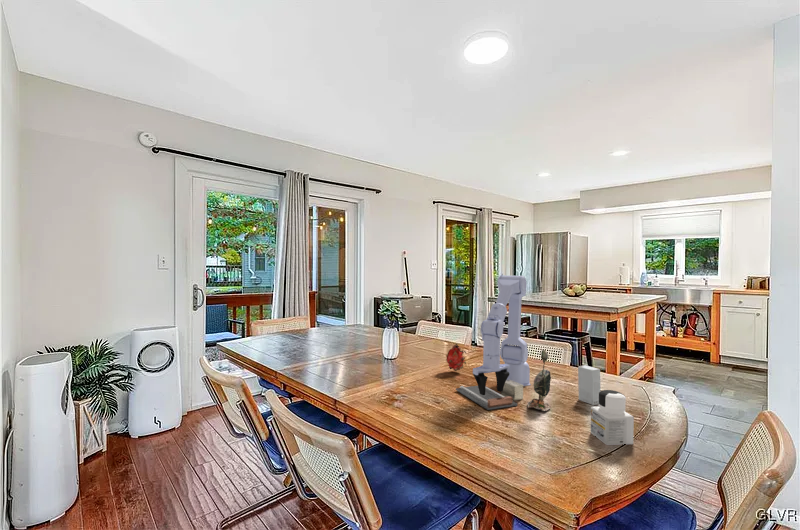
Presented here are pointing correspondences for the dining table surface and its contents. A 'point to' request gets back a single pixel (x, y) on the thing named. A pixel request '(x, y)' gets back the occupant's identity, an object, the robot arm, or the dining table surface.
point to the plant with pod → (541, 386)
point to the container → (612, 419)
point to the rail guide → (487, 397)
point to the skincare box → (589, 384)
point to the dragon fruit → (455, 358)
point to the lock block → (513, 390)
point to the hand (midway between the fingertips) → (491, 392)
